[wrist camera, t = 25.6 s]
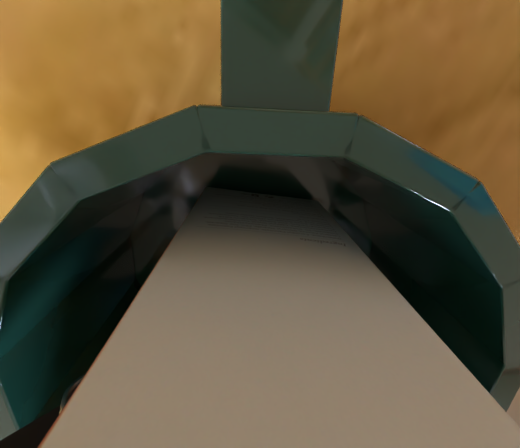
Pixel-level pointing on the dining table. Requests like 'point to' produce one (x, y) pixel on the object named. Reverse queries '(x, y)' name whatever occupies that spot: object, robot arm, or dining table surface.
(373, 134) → the pot
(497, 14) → the dining table surface
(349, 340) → the small box
